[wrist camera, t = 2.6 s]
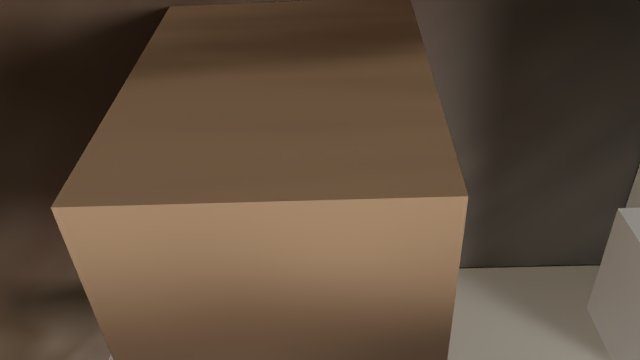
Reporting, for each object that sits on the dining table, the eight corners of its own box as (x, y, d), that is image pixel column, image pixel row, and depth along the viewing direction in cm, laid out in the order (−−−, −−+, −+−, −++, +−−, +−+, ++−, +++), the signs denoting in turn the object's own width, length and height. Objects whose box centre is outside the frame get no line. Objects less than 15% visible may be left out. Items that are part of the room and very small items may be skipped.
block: (170, 6, 15) (50, 207, 9) (409, -4, 15) (468, 195, 8) (208, 193, 19) (143, 433, 12) (401, 187, 18) (437, 430, 12)
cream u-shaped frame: (146, 299, 22) (104, 428, 18) (-20, -210, 12) (-190, -182, 8) (632, 289, 21) (704, 421, 17) (843, -259, 12) (1114, -254, 8)
